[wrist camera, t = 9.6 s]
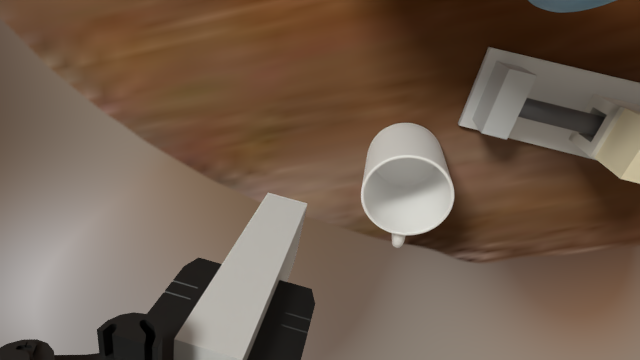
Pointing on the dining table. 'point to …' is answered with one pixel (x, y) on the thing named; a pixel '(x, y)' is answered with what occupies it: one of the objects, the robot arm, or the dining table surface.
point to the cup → (406, 182)
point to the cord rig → (539, 100)
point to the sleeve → (614, 137)
